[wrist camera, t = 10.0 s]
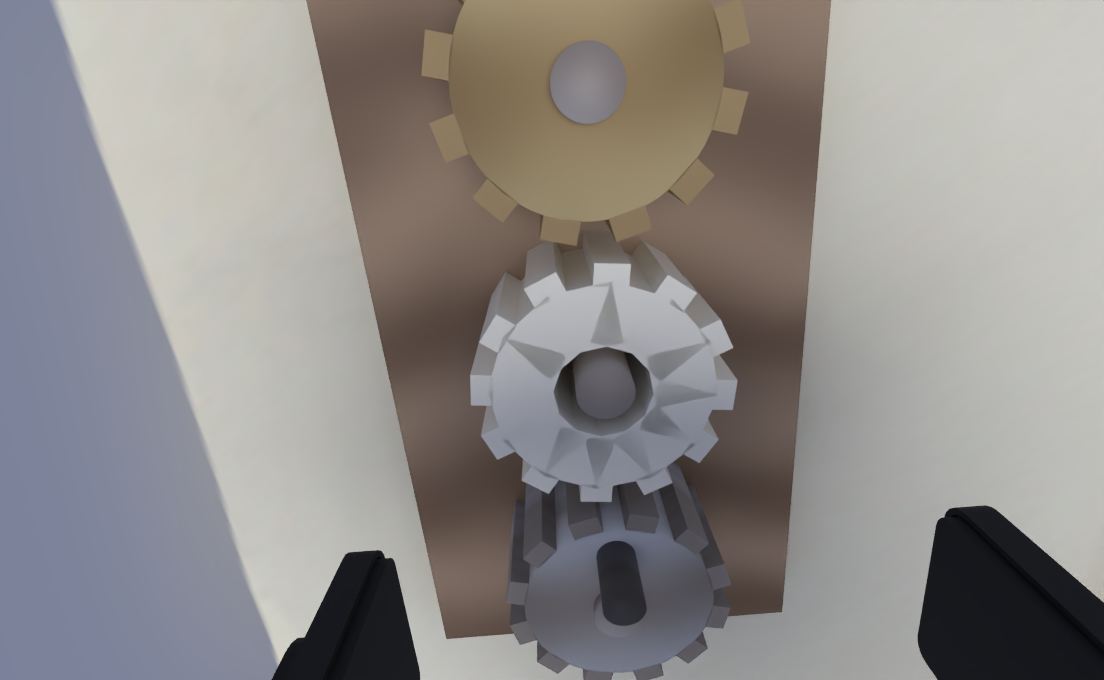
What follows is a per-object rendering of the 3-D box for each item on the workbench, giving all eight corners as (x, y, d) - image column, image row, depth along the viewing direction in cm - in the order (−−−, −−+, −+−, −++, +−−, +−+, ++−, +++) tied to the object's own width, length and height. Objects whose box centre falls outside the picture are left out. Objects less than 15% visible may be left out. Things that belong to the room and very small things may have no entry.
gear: (654, 450, 21) (678, 524, 17) (462, 401, 20) (444, 469, 16) (732, 266, 18) (780, 307, 15) (516, 202, 17) (510, 228, 14)
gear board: (768, 584, 25) (854, 764, 18) (451, 609, 26) (418, 798, 19) (818, -155, 16) (1041, -363, 9) (302, -100, 16) (116, -260, 9)
